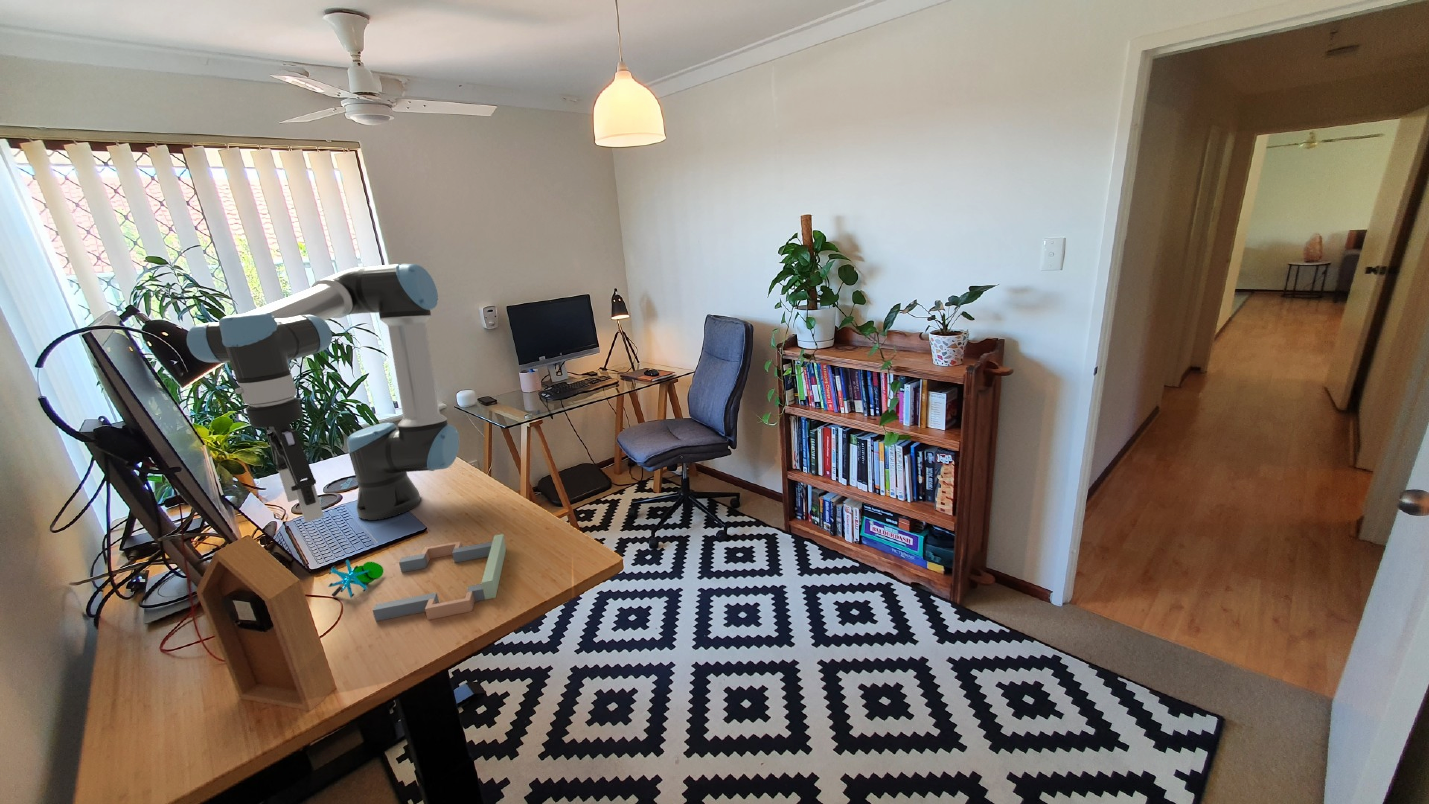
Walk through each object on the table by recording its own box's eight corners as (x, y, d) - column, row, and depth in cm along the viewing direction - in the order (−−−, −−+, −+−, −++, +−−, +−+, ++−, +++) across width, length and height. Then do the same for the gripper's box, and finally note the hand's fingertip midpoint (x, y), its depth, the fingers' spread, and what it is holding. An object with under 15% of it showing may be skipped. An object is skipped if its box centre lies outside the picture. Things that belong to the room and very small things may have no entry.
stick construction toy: (346, 594, 107) (325, 563, 109) (325, 616, 108) (304, 586, 110) (395, 577, 119) (375, 550, 121) (375, 598, 120) (356, 570, 122)
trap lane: (407, 560, 125) (403, 545, 124) (507, 542, 130) (504, 527, 129) (370, 631, 102) (365, 613, 101) (493, 606, 107) (490, 589, 106)
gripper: (233, 396, 102) (267, 498, 108) (258, 418, 85) (296, 537, 91) (282, 386, 107) (312, 484, 113) (314, 406, 91) (347, 519, 97)
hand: (305, 508), depth 102 cm, fingers open, 13 cm apart
